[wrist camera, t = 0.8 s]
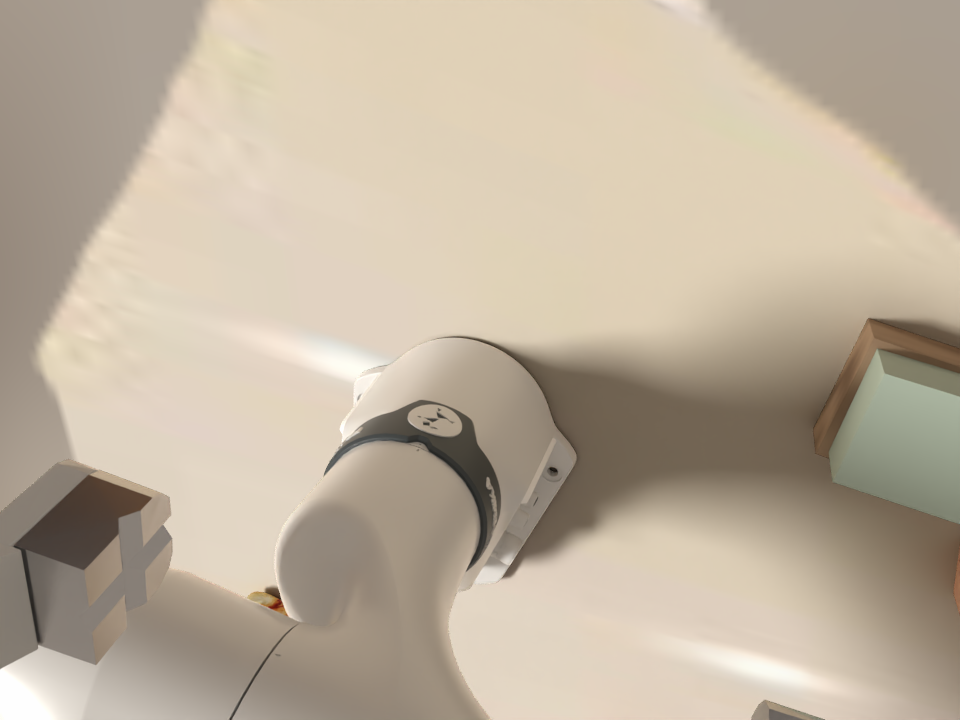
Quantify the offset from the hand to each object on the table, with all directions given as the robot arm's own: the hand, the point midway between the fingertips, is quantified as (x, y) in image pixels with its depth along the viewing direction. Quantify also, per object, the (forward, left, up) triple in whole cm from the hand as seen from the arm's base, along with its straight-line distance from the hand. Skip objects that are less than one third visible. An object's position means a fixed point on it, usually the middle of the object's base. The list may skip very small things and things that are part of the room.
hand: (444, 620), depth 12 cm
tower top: (-14, -20, -48) cm, 54 cm away
